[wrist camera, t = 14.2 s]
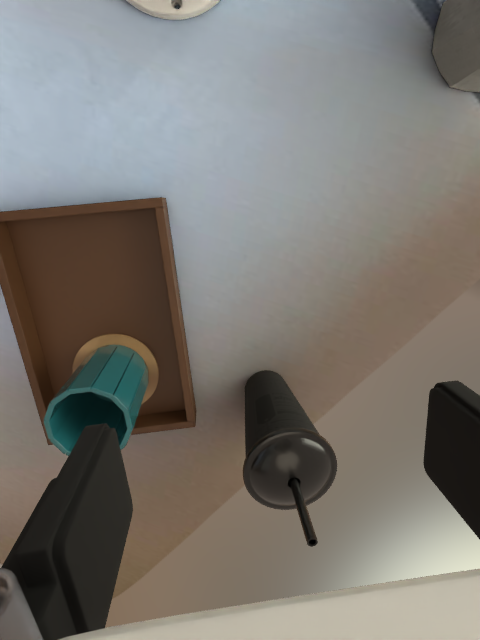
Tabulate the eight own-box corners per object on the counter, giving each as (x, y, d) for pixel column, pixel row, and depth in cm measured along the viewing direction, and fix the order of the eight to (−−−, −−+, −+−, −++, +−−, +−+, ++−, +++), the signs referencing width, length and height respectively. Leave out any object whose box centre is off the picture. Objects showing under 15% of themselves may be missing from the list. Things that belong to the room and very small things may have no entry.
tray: (-2, 212, 34) (-22, 213, 31) (165, 197, 35) (162, 197, 32) (59, 428, 41) (47, 445, 38) (196, 411, 42) (195, 427, 39)
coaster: (64, 338, 38) (63, 339, 37) (151, 328, 38) (151, 329, 38) (83, 414, 40) (82, 415, 40) (164, 404, 41) (164, 405, 41)
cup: (76, 348, 38) (34, 393, 29) (143, 340, 38) (123, 383, 29) (90, 406, 40) (55, 465, 31) (153, 398, 40) (137, 455, 31)
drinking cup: (223, 409, 42) (236, 576, 23) (244, 351, 40) (277, 482, 21) (284, 424, 44) (343, 594, 25) (307, 368, 42) (390, 507, 23)
